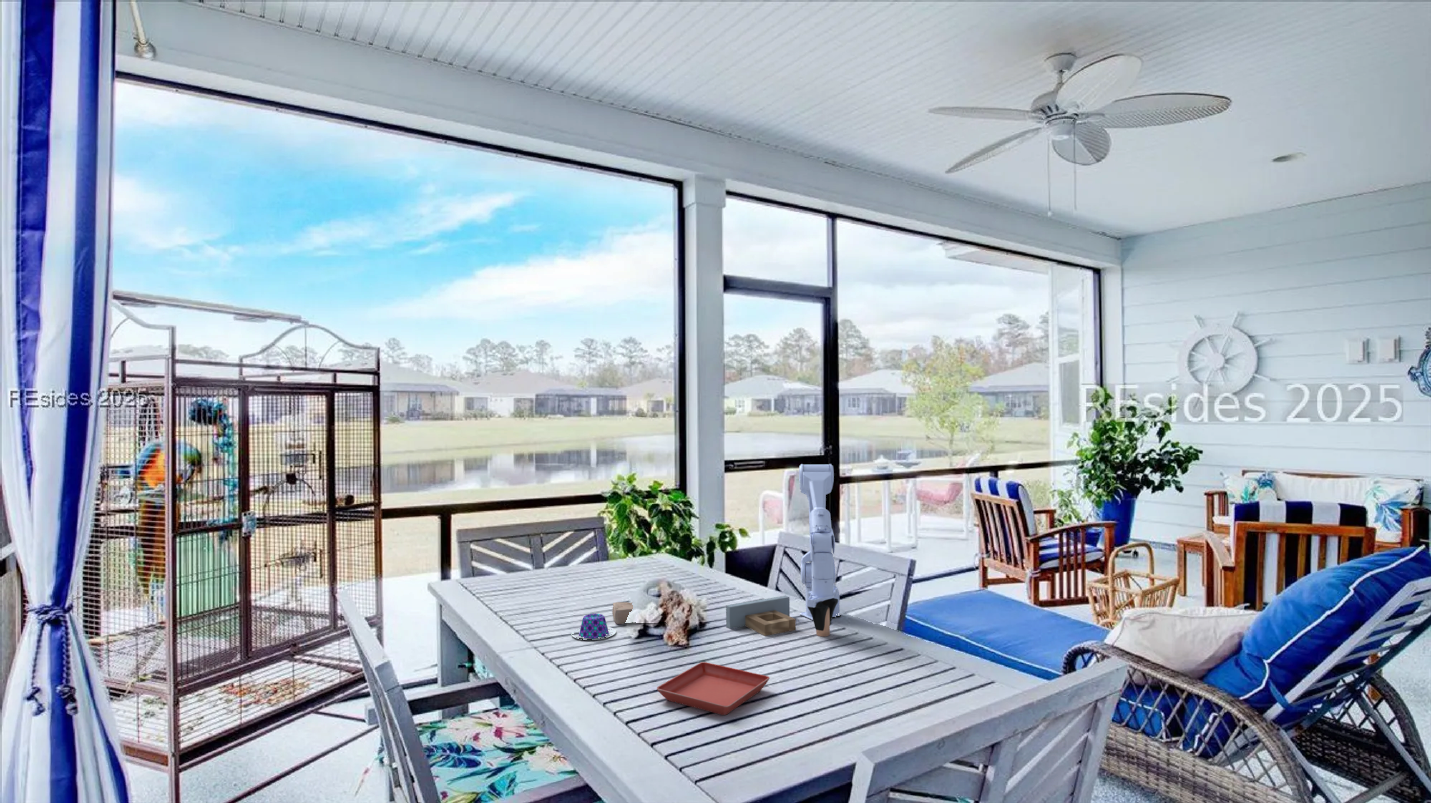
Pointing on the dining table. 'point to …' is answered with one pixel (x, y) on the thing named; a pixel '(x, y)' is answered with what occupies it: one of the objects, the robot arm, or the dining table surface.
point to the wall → (755, 609)
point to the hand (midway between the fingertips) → (822, 627)
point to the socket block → (770, 622)
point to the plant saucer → (713, 687)
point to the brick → (621, 611)
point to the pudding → (594, 627)
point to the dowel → (827, 625)
